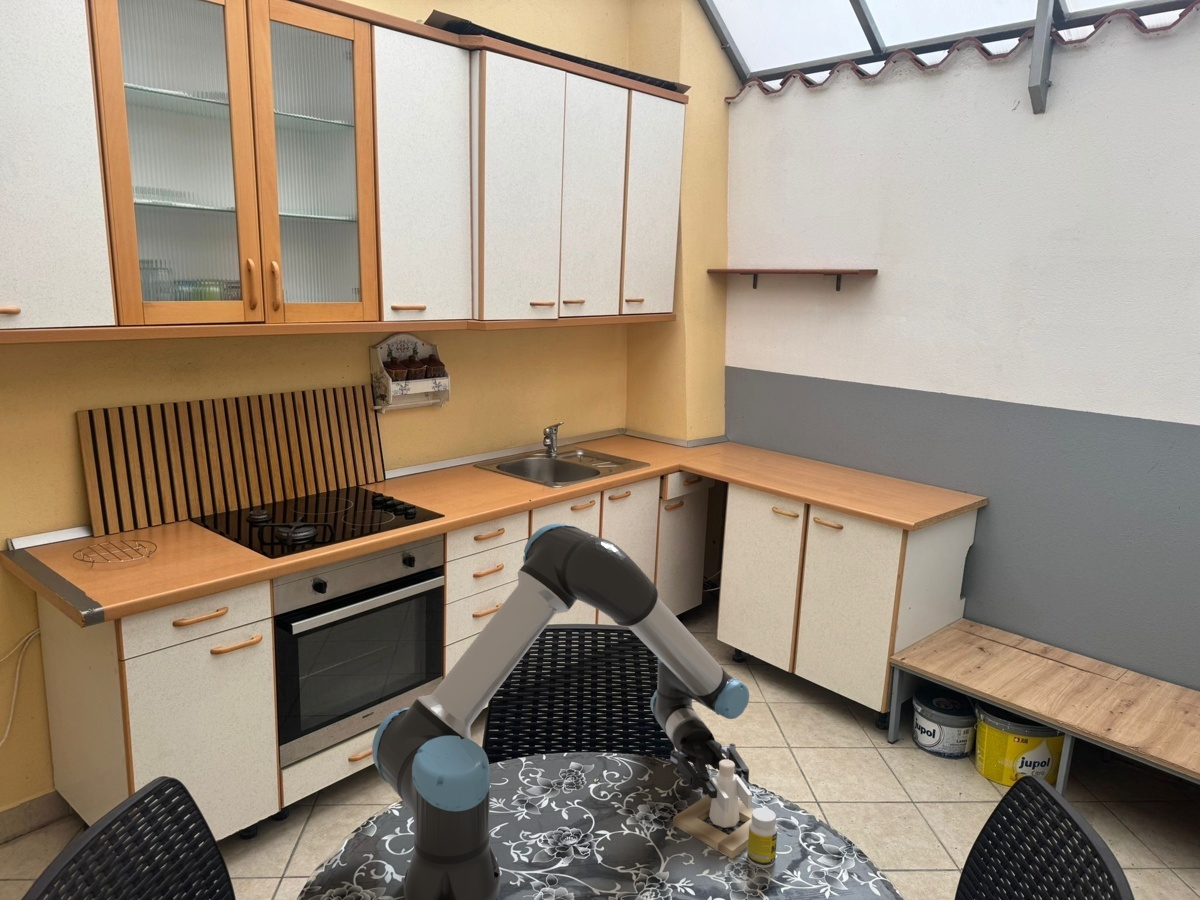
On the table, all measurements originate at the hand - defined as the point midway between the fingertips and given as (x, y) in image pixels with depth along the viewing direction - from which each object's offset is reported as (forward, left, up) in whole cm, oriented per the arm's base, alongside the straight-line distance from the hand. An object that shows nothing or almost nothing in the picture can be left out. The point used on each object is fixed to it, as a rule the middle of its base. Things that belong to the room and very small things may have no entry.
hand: (738, 803), depth 143 cm
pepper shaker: (-5, +3, -7) cm, 9 cm away
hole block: (-5, +3, -8) cm, 9 cm away
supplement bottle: (+5, 0, -8) cm, 10 cm away
